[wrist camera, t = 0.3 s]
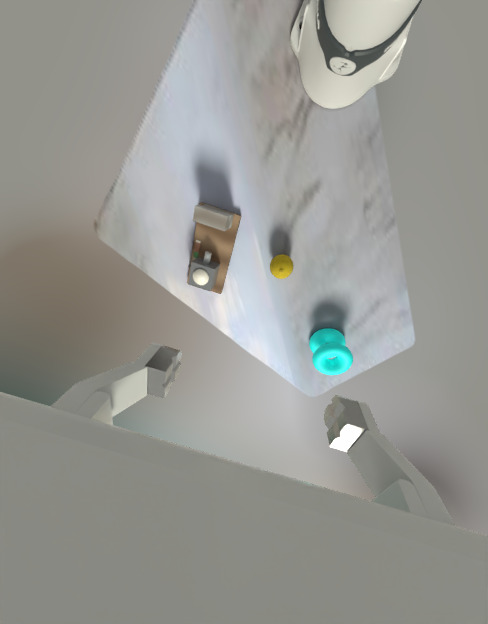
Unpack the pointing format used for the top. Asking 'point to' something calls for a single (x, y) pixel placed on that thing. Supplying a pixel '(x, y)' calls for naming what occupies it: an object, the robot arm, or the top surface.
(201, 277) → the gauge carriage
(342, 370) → the donuts
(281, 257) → the lemon
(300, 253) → the top surface
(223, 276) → the bench
